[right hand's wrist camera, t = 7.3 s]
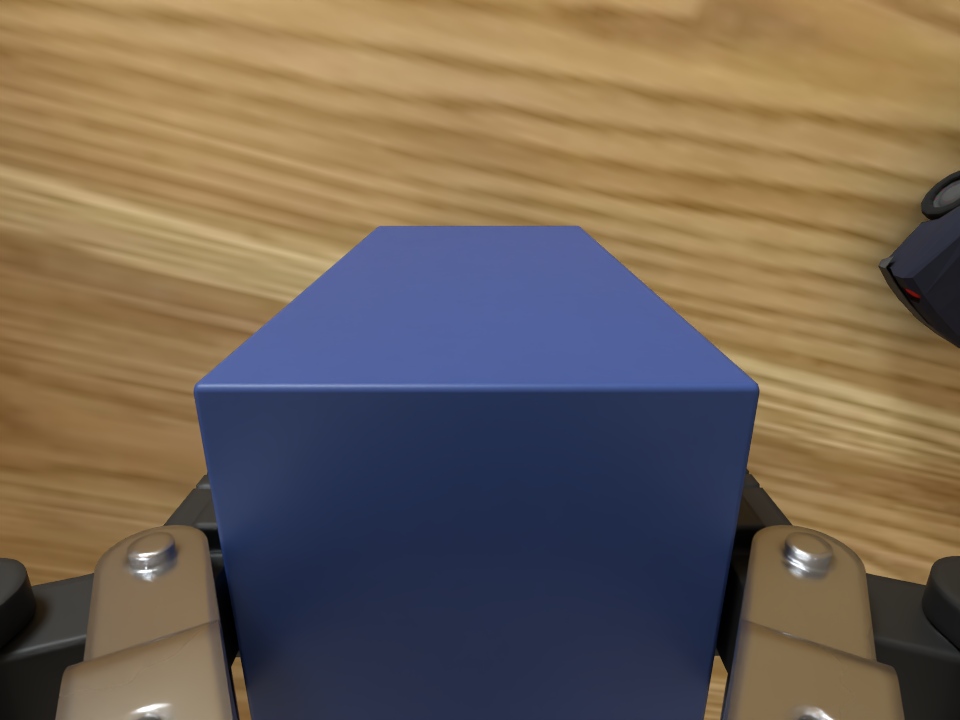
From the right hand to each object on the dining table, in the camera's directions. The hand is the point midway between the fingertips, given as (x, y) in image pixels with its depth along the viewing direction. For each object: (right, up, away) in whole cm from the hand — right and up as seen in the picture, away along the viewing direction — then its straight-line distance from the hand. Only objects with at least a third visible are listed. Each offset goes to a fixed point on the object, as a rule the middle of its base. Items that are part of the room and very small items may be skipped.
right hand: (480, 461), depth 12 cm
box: (0, -7, +12) cm, 13 cm away
